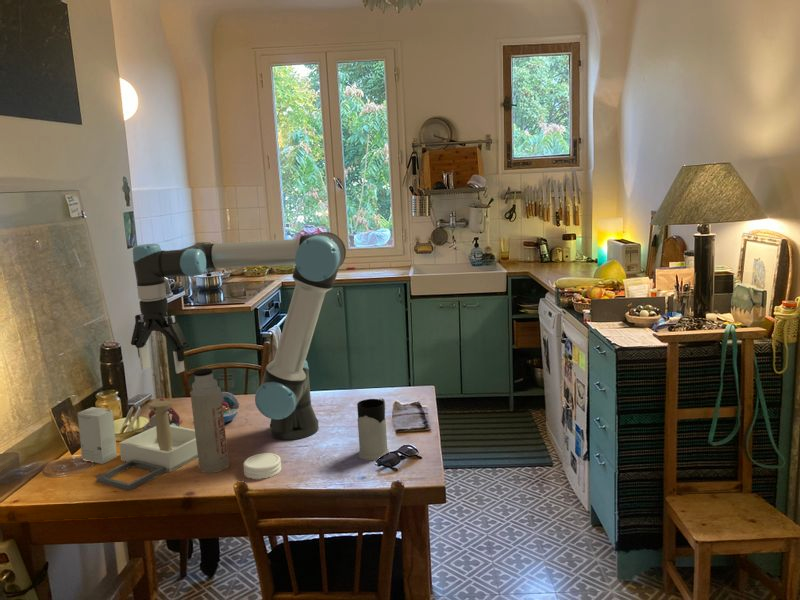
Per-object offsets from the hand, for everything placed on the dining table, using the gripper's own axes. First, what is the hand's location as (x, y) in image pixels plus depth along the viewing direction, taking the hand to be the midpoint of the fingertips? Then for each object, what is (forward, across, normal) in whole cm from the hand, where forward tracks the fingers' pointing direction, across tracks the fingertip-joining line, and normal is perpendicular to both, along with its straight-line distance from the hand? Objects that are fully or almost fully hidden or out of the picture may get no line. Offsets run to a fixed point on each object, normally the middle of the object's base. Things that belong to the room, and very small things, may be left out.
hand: (162, 370), depth 198 cm
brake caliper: (+25, +14, -11) cm, 31 cm away
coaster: (+26, -35, +2) cm, 43 cm away
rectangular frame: (+25, -2, +18) cm, 31 cm away
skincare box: (+25, +17, +12) cm, 32 cm away
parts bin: (+25, 0, +3) cm, 25 cm away
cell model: (+25, +1, -24) cm, 35 cm away
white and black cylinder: (+26, -58, -21) cm, 66 cm away
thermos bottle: (+25, -20, +4) cm, 32 cm away
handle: (+24, -1, +4) cm, 24 cm away
